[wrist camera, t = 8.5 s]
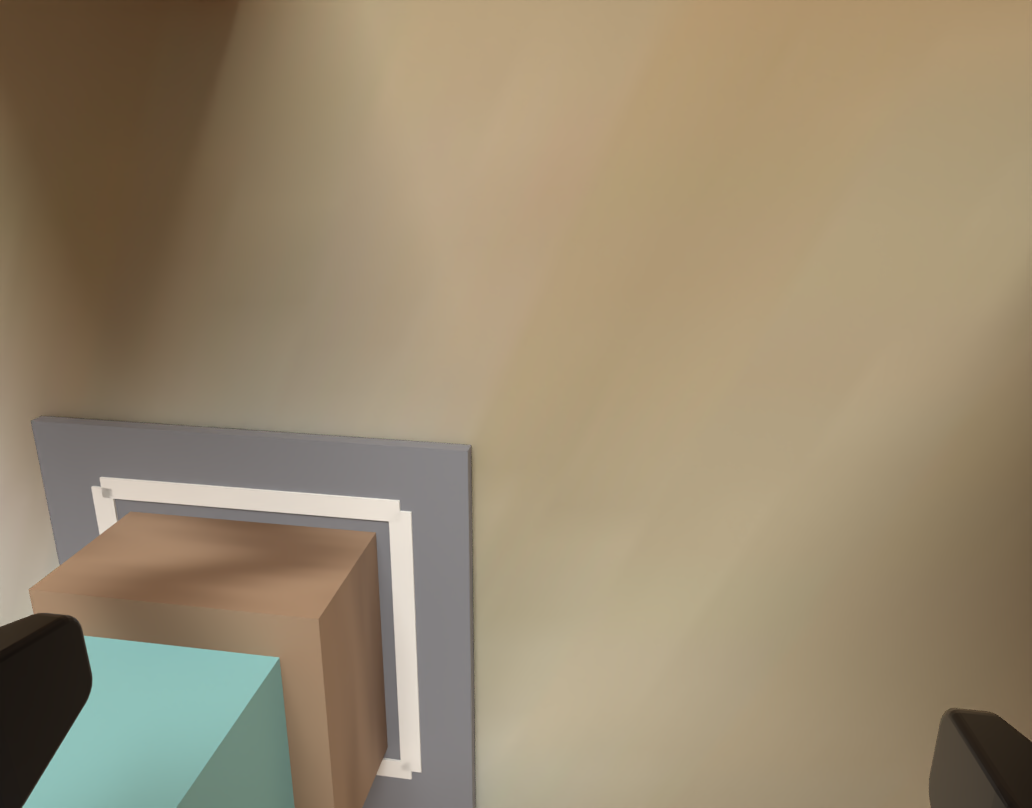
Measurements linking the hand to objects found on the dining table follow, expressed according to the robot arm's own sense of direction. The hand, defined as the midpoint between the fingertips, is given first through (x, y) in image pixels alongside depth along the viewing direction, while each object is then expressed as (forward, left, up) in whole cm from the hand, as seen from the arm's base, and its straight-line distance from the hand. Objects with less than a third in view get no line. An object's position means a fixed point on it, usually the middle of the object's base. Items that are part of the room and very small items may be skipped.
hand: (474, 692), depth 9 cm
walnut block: (+9, +8, -12) cm, 17 cm away
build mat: (+9, +8, -12) cm, 17 cm away
